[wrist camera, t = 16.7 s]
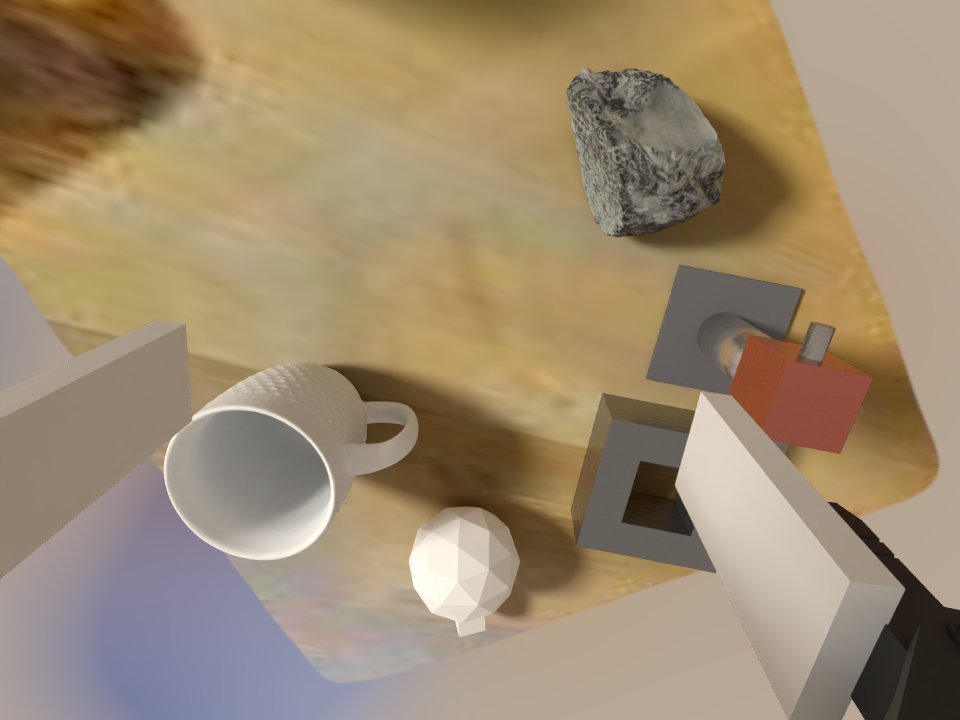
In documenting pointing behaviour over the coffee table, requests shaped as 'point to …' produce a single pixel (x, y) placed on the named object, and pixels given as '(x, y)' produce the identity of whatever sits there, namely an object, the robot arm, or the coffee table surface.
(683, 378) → the mat
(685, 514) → the block
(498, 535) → the perfume bottle
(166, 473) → the mug
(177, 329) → the robot arm
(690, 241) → the coffee table surface
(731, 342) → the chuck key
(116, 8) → the coffee table surface
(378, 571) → the coffee table surface
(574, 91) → the stone
